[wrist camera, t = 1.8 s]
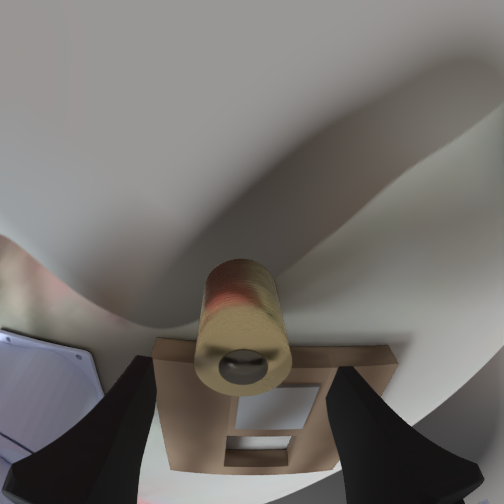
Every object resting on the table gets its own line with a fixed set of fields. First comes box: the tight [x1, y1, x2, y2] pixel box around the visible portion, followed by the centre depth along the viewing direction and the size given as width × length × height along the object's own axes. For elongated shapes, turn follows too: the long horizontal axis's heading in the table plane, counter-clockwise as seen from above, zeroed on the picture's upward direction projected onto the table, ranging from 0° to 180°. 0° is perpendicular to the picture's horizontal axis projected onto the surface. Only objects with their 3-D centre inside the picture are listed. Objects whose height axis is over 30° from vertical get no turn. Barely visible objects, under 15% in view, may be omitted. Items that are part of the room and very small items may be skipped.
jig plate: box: [151, 338, 399, 475], centre depth 22 cm, size 16×16×2 cm
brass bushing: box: [194, 259, 292, 397], centre depth 15 cm, size 4×4×6 cm
